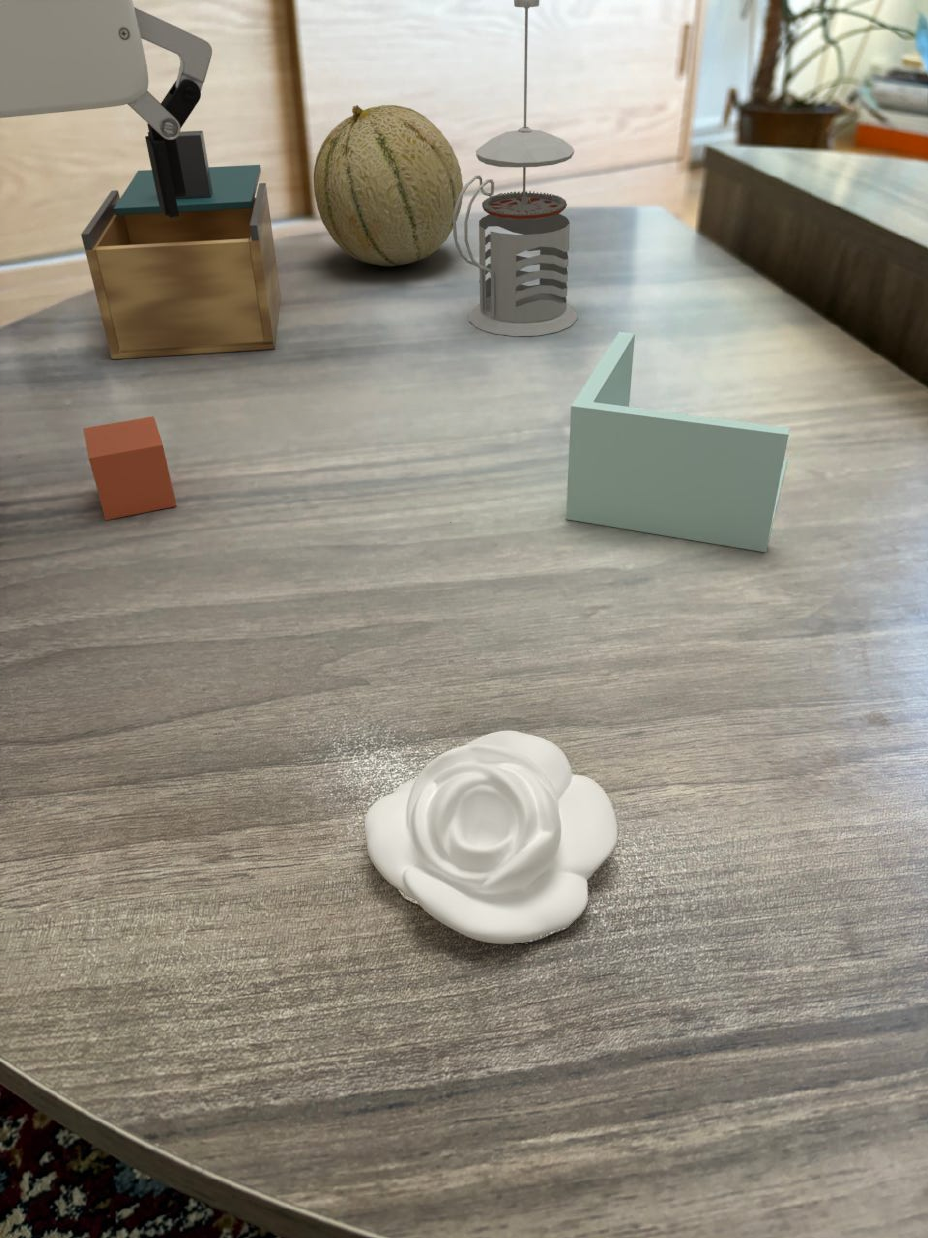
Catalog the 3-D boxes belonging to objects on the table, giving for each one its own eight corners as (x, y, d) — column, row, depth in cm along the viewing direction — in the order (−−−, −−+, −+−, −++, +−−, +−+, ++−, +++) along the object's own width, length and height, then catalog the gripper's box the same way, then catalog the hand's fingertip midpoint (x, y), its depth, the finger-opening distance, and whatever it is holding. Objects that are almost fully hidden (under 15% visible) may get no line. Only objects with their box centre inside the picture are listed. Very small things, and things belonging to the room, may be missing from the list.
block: (105, 520, 62) (88, 457, 60) (99, 488, 66) (83, 427, 63) (176, 506, 64) (162, 444, 61) (167, 475, 67) (153, 415, 64)
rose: (584, 678, 42) (658, 855, 35) (579, 753, 45) (647, 932, 37) (350, 708, 41) (372, 899, 33) (359, 784, 44) (382, 976, 36)
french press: (600, 319, 88) (620, -14, 73) (494, 350, 83) (492, -1, 68) (533, 290, 95) (538, -21, 80) (430, 316, 90) (416, -10, 75)
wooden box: (111, 359, 83) (80, 233, 77) (136, 304, 94) (111, 190, 88) (274, 349, 84) (257, 224, 78) (280, 295, 95) (265, 182, 89)
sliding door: (115, 215, 85) (99, 143, 81) (139, 177, 95) (126, 112, 92) (252, 208, 86) (242, 137, 82) (261, 171, 96) (252, 106, 93)
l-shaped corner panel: (765, 552, 58) (788, 434, 53) (566, 519, 61) (571, 405, 57) (787, 459, 67) (807, 351, 62) (611, 434, 70) (619, 331, 66)
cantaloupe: (493, 258, 103) (493, 97, 94) (394, 296, 94) (382, 123, 85) (392, 233, 111) (382, 82, 102) (291, 266, 102) (271, 104, 93)
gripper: (164, -163, 51) (222, 189, 62) (-211, -153, 46) (-80, 227, 57) (188, -169, 46) (248, 218, 56) (-235, -160, 41) (-85, 263, 51)
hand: (83, 222), depth 56 cm, fingers open, 9 cm apart
